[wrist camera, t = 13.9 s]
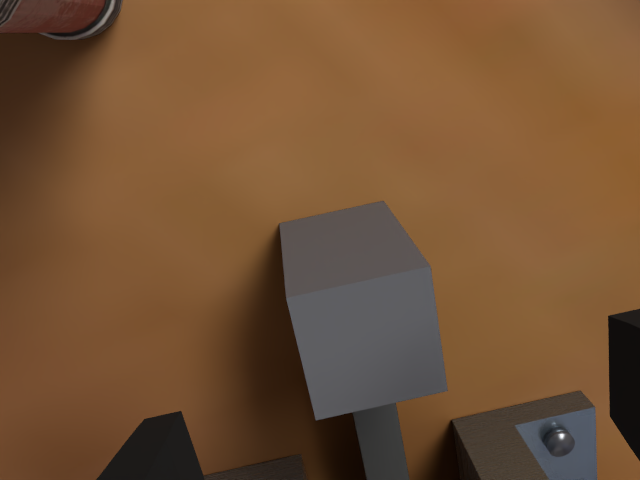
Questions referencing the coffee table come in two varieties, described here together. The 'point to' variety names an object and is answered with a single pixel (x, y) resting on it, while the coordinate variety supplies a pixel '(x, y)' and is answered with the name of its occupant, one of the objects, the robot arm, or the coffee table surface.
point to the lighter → (58, 17)
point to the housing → (496, 445)
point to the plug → (363, 324)
